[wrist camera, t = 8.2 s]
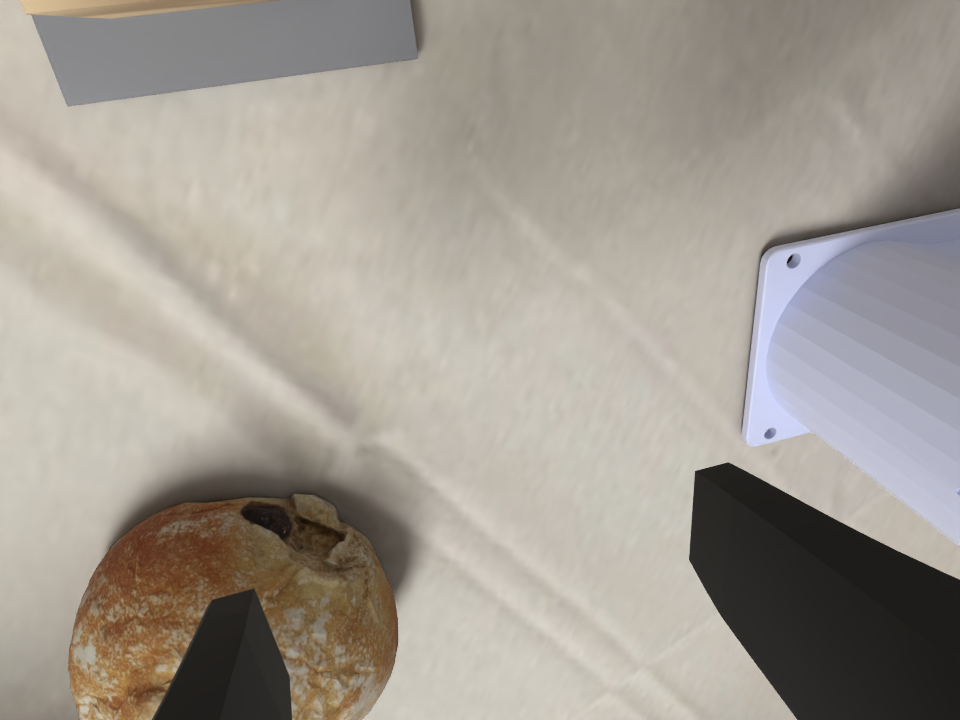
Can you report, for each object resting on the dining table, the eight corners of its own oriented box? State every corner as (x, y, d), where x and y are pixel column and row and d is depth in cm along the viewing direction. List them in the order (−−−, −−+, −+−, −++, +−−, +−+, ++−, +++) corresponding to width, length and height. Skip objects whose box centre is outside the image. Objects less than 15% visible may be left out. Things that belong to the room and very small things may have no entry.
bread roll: (394, 480, 26) (456, 534, 19) (351, 729, 26) (396, 885, 19) (127, 451, 23) (73, 505, 15) (73, 739, 23) (-9, 936, 15)
